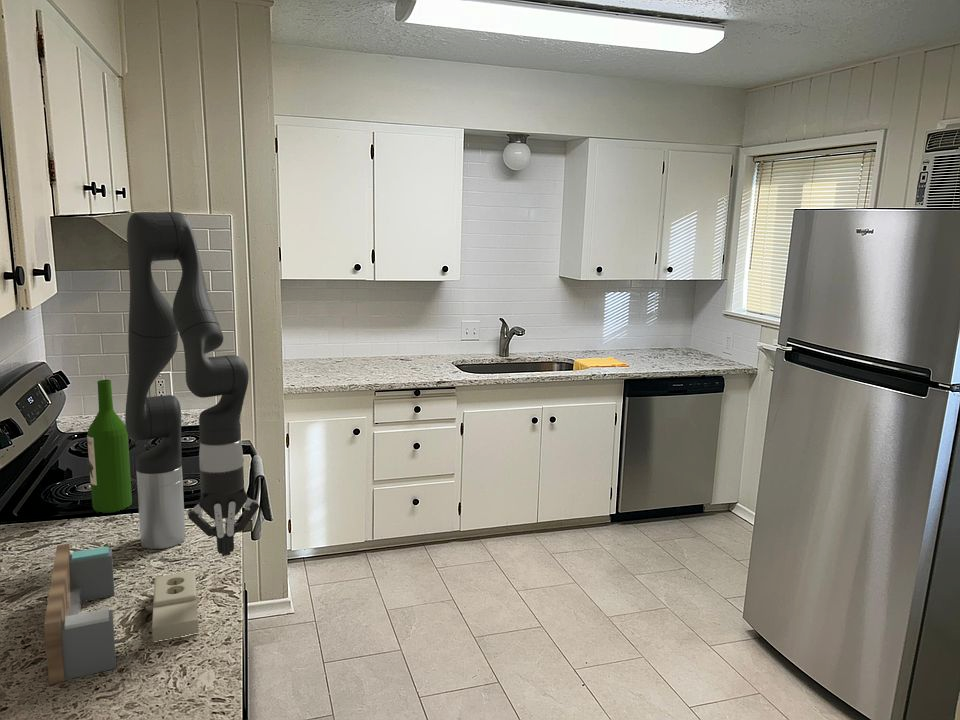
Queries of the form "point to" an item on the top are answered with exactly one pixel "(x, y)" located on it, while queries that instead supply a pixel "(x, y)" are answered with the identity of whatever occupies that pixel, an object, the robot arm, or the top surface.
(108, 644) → the block
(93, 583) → the module
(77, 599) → the metal rail
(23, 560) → the top surface
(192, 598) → the electrical outlet
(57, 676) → the mounting panel
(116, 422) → the wine bottle
